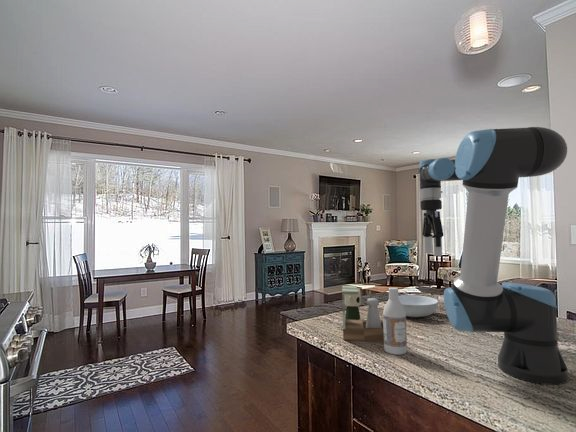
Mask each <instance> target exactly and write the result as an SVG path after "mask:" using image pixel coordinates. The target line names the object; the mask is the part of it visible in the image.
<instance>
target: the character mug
mask: <svg viewBox="0 0 576 432" xmlns="http://www.w3.org/2000/svg"><path fill="white" fill-rule="evenodd" d="M357 290H358V295H345V319H347V320H361V313H360V309H359V306H361V303H362V296H361V293H362V292H361V289H359V288H357Z"/></svg>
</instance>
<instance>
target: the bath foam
mask: <svg viewBox="0 0 576 432" xmlns="http://www.w3.org/2000/svg"><path fill="white" fill-rule="evenodd" d="M398 296H399V288H398V287H388V300H387V302H386V303H385V305H384V307H383V313H382V320H383V329H384V342H383V349H384V352H386V353H388V354H391V355H395V356H397V355H398V356H400V355H405V354H406V353H407V351H408V346H407V344H408V343H407V341H408V340H407V337H408V336H407V316H406V313H405V310H404V307H403V306H402V304H401V303H400V301H399V299H398V298H399V297H398Z"/></svg>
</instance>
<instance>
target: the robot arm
mask: <svg viewBox="0 0 576 432" xmlns="http://www.w3.org/2000/svg"><path fill="white" fill-rule="evenodd" d="M567 145H568V144H567V143H566V140H565V138H564V137H563V135H561V134H559V133H558V132H557V131H555V130H553V129H551V128H547V127H541V126H531V127H530V126H529V127H509V128H489V129H488V128H487V129H479V130H474V131H473V130H472V131H471V132H469V133H467V134H466V135H465V136H463V138H462V140H461V141H460V143H459V145H458V147H457V151H456V152H455V153H456V154H455V158H454V159H450V158H448V157H440V158H429V159H424V160H421V161H420V162H419V165H418V167H419V168H418V172H419V174H418V175H419V198H420V200H421V201H420V210H421V211H426V212H424V213H423V224H422V233H421V234H422V236H423V244H424V246H423V247H424V254H432V253H433V256H434V257H443V246H442V245H443V244H442V242H443V241H442V238H443V237H444V230H443V225H442V224H443V223H442V220H441V219H442V218H441V211H439V210H441V209H443V208H442V207H443V205H442V204H443V203H442V202H443V201H442V199H441V198H442V193H443V190H442V183H441V182H447V181H451V182H452V181H462V185H461V186H463V188H465V189H466V190H467V193H468V194H467V203H466V212H465V213H466V215H465V223H464V225H465V226H464V234H463V243H462V253H461V265H460V274H459V275H458V276H456V277H455V278H453V284H452V287H447V288H445V290H444V291H443V302H444V308H445V311H446V315H447V318H448V320H449V323H450V324H451V326H452V327H453V328H454V329H455V330H457V331H459V332H470V333H473V334H474V333H503V335H504V336H503V337H504V338H503V341H502V345H501V347H500V350H499V353H498V355H497V366H498V368H499V369H500V370H501V371H502V372H504V373H505V374H508V375H509V376H512V377H514V378H517V379H520V380H524V381H525V382H526V381H527V382H531V383H535V382H536V384H541V383H543V384H544V385H562V384H565V383H567V382H568V381H569V380H570V379H569V371H568V367H567V364H566V362H565V360H564V357H563V356H562V352H561V351H560V348H559V344H558V343H559V342H558V338H559V337H558V323H557V322H558V319H557V308H558V306H557V301H556V297H555V294H554V292H553V291H552V290H550V289H548V288H546V287H542V286H536V285H532V284H525V283H519V282H510V281H507V282H506V281H504V282H502V283H501V284H500V283H499V282H498V277H499V271H500V263H501V254H502V246H503V242H504V241H503V239H504V234H505V232H504V231H505V226H506V218H507V210H508V204H509V203H508V202H509V201H508V200H509V195H510V193H512V192H513V191H514V190H516V189H517V188H518V185H519V178H528V177H529V178H533V177H539V176H544V175H547V174H549V173H552V172H554V171H555V170H557V169H558V168H560V167H561V165H562V164H563V163H564V162H565V160H566V158H567V155H568V146H567ZM432 244H433V245H432Z"/></svg>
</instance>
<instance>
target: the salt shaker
mask: <svg viewBox="0 0 576 432" xmlns="http://www.w3.org/2000/svg"><path fill="white" fill-rule="evenodd" d="M366 303H367V304H366V305H367V306H368V310H367V317H366V320H367V322H366V328H382V326H381V321H380V320H381V317H380V311H379V307H378V306H379V305H380V301H379V299H378V298H376V297H369V298H367V299H366Z"/></svg>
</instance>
